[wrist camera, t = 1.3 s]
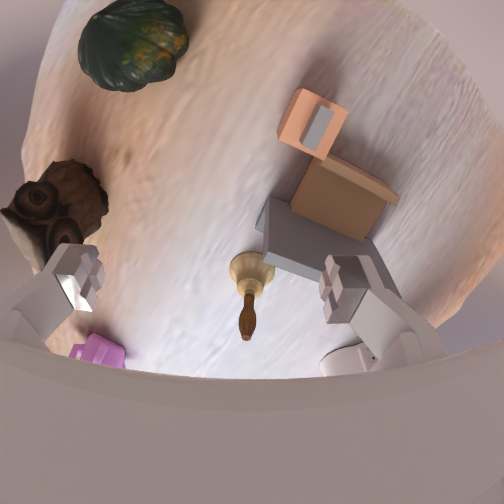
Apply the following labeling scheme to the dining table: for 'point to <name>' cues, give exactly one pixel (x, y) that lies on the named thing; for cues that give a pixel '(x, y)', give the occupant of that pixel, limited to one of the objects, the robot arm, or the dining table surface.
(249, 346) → the dining table surface
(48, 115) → the dining table surface
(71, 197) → the owl
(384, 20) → the dining table surface
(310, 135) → the tall peach box
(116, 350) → the teakettle
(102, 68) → the squash
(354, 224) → the board
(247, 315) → the hand bell
